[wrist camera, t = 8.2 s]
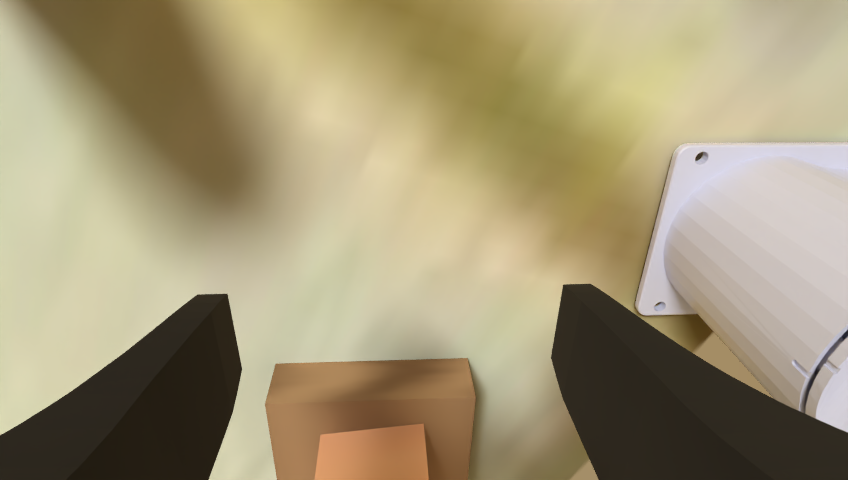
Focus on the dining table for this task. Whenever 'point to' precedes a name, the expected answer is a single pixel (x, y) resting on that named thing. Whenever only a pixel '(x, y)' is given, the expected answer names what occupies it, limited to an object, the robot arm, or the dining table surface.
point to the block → (371, 409)
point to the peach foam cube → (374, 454)
